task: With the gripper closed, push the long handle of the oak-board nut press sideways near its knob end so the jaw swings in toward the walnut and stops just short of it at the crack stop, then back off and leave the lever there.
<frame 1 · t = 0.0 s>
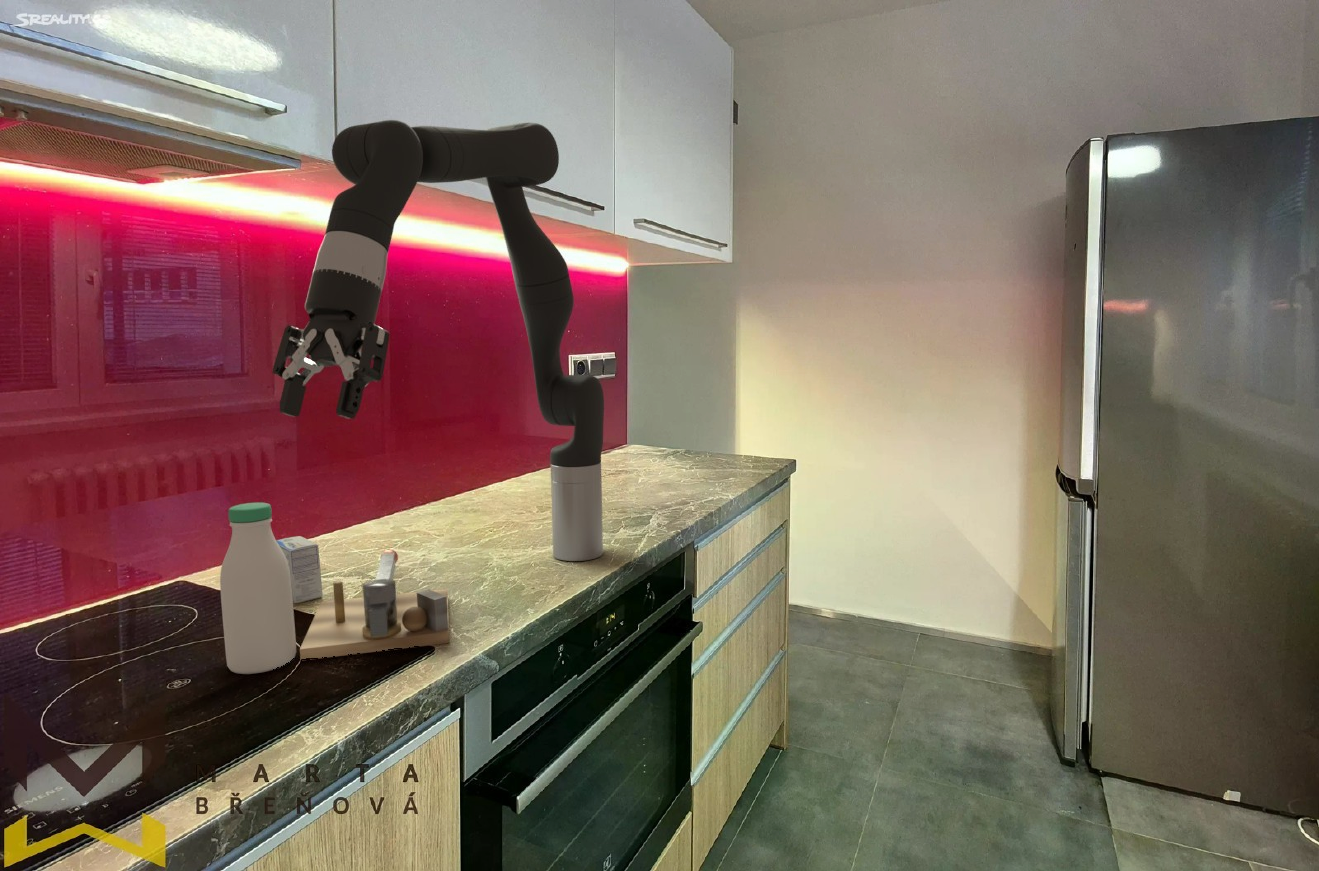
hand: (316, 415, 83), 31 cm above the counter, tool tilted 20°, fingers open, 8 cm apart
lever: (384, 584, 106), point 5 cm above the counter, hinge at 0.0°
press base: (382, 626, 105), on the counter
medicine box: (299, 596, 118), on the counter
milk bottle: (262, 663, 93), on the counter
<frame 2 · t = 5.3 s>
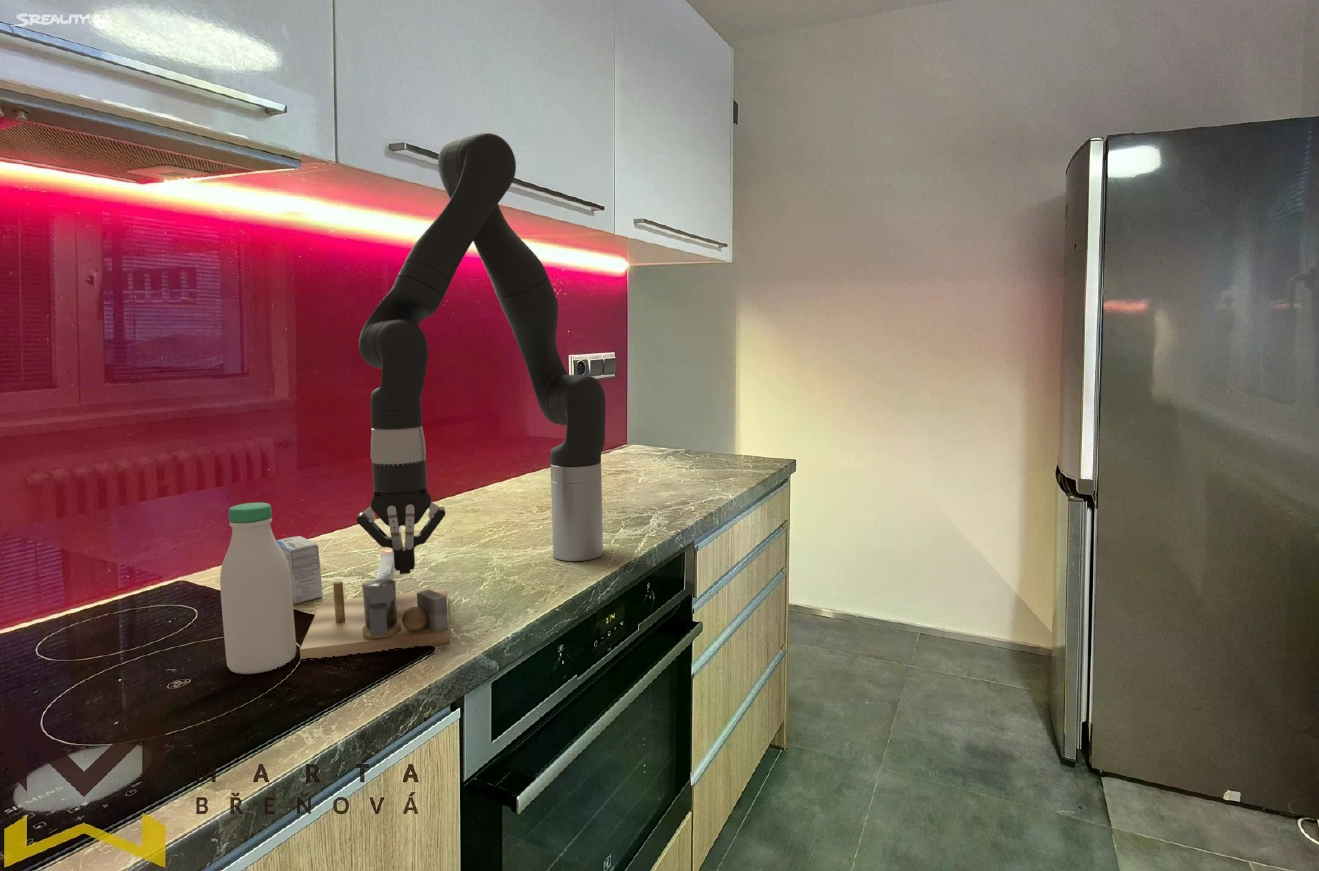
hand: (405, 572, 111), 5 cm above the counter, tool pointing down, fingers closed
lever: (384, 584, 106), point 5 cm above the counter, hinge at 0.0°, touching gripper
everything else where it was.
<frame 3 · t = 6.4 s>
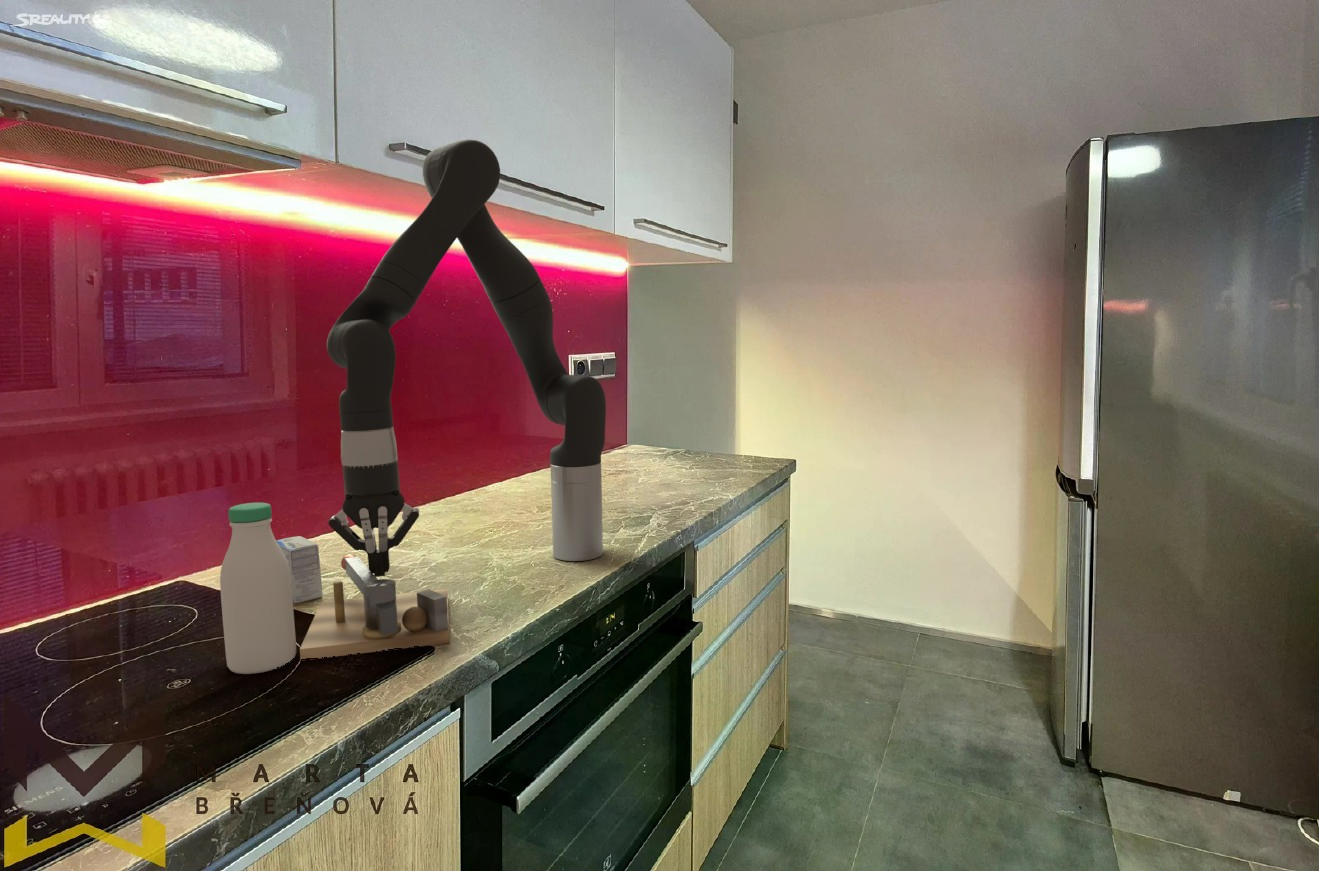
hand: (379, 575, 110), 5 cm above the counter, tool pointing down, fingers closed
lever: (366, 586, 105), point 5 cm above the counter, hinge at 16.8°, touching gripper
everything else where it was.
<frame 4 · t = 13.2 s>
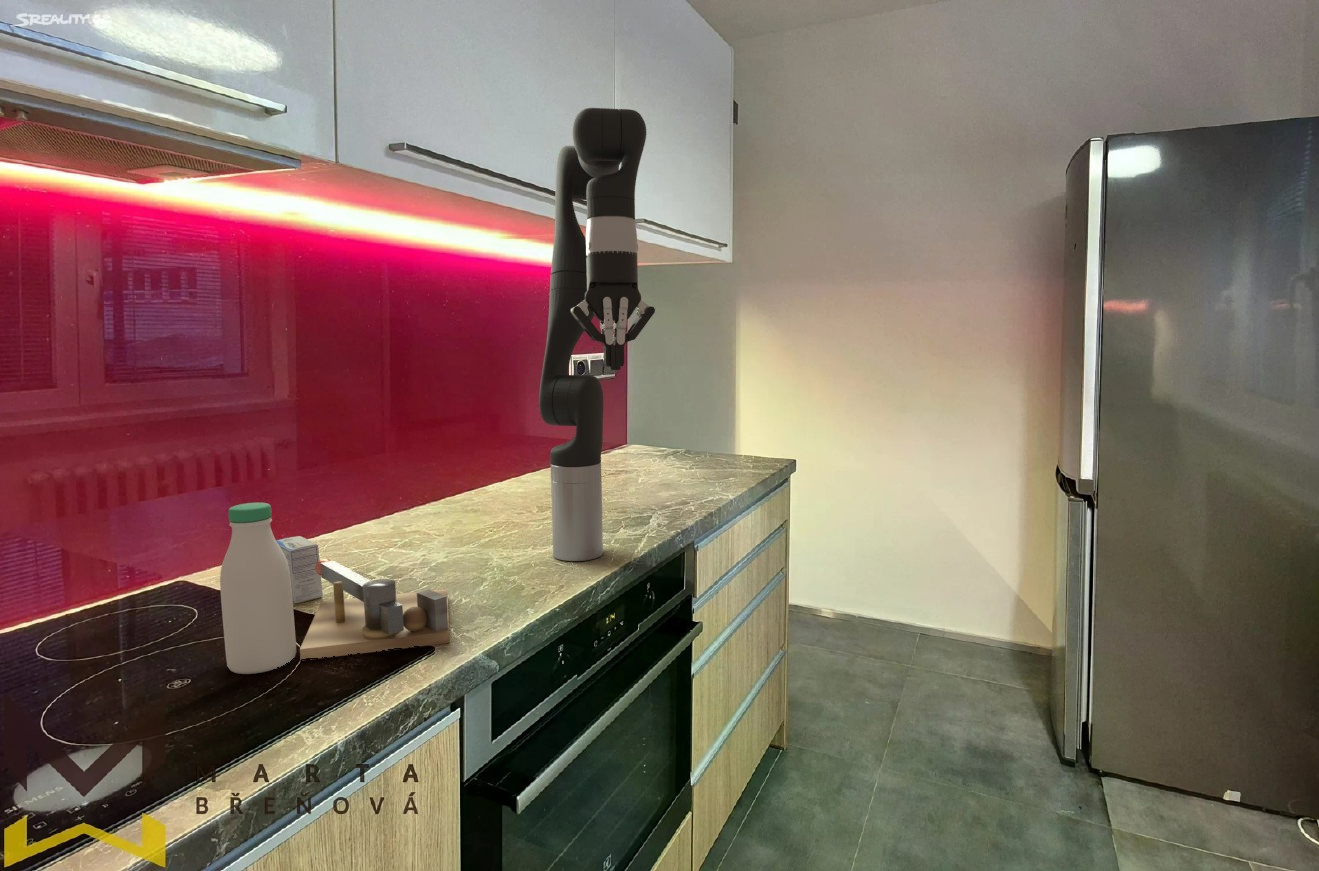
hand: (614, 370, 112), 35 cm above the counter, tool pointing down, fingers closed
lever: (355, 589, 104), point 5 cm above the counter, hinge at 27.6°
everything else where it was.
at the end: lever at +28° (first picture: +0°) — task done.
